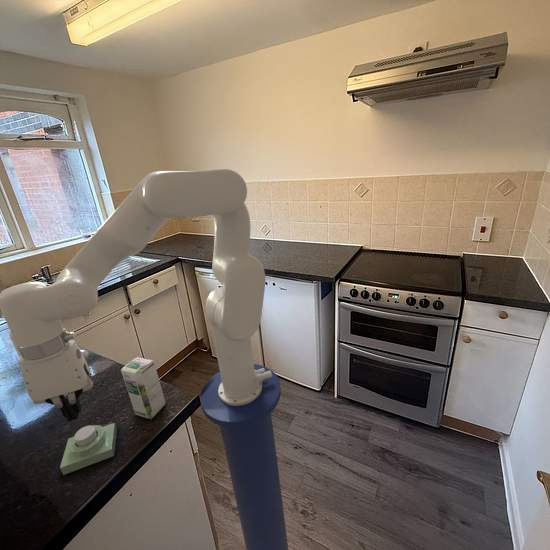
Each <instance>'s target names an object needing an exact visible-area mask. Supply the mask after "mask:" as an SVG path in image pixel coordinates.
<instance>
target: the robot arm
mask: <svg viewBox="0 0 550 550" xmlns="http://www.w3.org/2000/svg"><path fill="white" fill-rule="evenodd" d="M247 196H248V187H247V183H246V181H245V179H244V178H243V176H241V174H239V173H238V172H237V171H235V170H232V169H228V168H219V169H218V168H217V169H216V168H215V169H214V168H213V169H212V168H211V169H205V170H204V169H203V170H180V171H179V170H159V171H157V170H156V171H153V172H150V173H148V174H147V175H145V176H144V177H143V178H142V179H141V180H140V181H139V183H138V184H137V185H136V186H135V187H134V188H133V189H132V190H131V192H130V193H129V194H128V195H127V197H125V198H124V199H123V201H122V202H121V203H120V204H119V205H118V206H117V208H116V209H115V210H114V211H113V212H112V213H111V215H110V216H109V217H108V218H107V219H106V220H105V221H104V222H103V223H102V224H101V226H99V228H98V229H97V230H96V232H95V233H94V234H93V235H92V237H91V238H90V239H89V240H88V241H87V242H86V243H85V244H84V245H83V246H82V247H81V248H80V249H79V250H78V252H77V253H75V255H74V256H73V258H71V259H70V260H69V262H68V263H67V264H66V266H64V268H63V269H62V270H61V271H60V273H58V275H57V277H56V279H55V281H54V283H52V284H50V285H46V284H45V283H44V282H40V281H29V282H22V283H19V284H16V285H12V286H10V287H7V288H5V289H3V290H1V292H0V311H1V313H2V315H3V317H4V320H5V323H6V325H7V326H8V329H9V331H10V332H11V333H12V335H13V337H14V340H15V342H16V344H17V347H18V349H19V351H20V353H21V357H20V358H19V366H20V373H21V377H22V380H23V384H24V387H25V389H26V392H27V394H28V396H29V398H30V400H32V403H33V404H34V405H41V404H49V405H53V406H55V407H56V408H57V409H60V412H61V414H62V416H63V418H66V420H67V422H68V423H70V422H72V421H77V420H78V418H79V414H80V413H81V412H82V405H81V402H80V400H79V398H80V397H81V395H82V393H84V392H87V391H90V390H91V389H93V388H94V383H95V382H94V381H93V379H92V378H91V377H90V376H91V369H90V365H88V362H87V359H86V360H85V358H84V356H83V354H82V352H81V351H80V350H81V349H80V348H79V346H78V344H77V342H75V340H74V339H76V333H75V332H74V331H72V332H68V331H67V329H66V328H64V325H63V323H62V320H70V319H76V318H81V317H84V316H86V315H88V314H90V313H91V312H92V311H93V310H94V309H95V308H96V306H97V304H98V300H99V293H98V291H99V290H98V289H99V287H100V285H101V284H102V282H104V280H105V279H106V278H107V277H108V276H109V274H110V273H111V272H112V271H113V270H114V269H115V268H116V267H117V266H118V265H119V264H120V263H122V262H123V261H124V260H125V259H127V258H130V257H133V256H136V255H137V254H139V253H141V252H142V251H143V250H144V249H145V248H146V247H147V245H148V244H149V243H150V241H152V239H153V238H154V237H155V235H156V234H158V232H159V231H160V230H161V228H162V227H163V226H164V225H165V224H166V223H167V221H168V220H169V219H171V220H173V219H188V218H189V219H190V218H198V217H207V216H212V218H213V222H214V223H213V224H214V240H213V241H214V242H213V252H212V253H213V254H212V262H211V263H212V265H211V270H212V275H213V276H214V278H215V280H217V281H218V282H219V283H220V284H221V285H222V286H220V287H217V288H215V289H213V290H212V291H211V292H210V293H209V295H208V296H207V298H206V302H205V313H206V317H207V320H208V324H209V327H210V330H211V334H212V339H213V344H214V348H215V353H216V358H217V364H218V369H219V372H220V374H221V379H222V383H221V384H220V386H219V389H218V394H219V397H220V399H221V400H222V401H223V402H224V403H226V404H228V405H232V406H240V405H245V404H248V403H250V402H252V401H253V400H255V399H256V398H257V397H258V396H259V395H260V393H261V391H262V380H264V379H268V378H271V377H272V373H271V371H267V372H265V370H264V368H262V369H259V370H255V369H254V364H255V362H254V357H253V356H254V355H253V349H252V342H251V341H252V340H251V338H252V337H253V336H254V335H255V333H256V332H257V330H258V329H259V327H260V324H261V320H262V315H263V314H262V313H263V306H264V299H265V298H264V297H265V291H266V290H265V289H266V272H265V269H264V265H263V264H262V262H261V261H260V260H259V259H258V258H257V257H256V256H254V255H253V254H251V253H250V248H251V247H250V246H251V217H250V213H249V210H248V207H247V205H246V203H245V202H246V200H247ZM262 373H263V374H262ZM66 395H67V396H66Z"/></svg>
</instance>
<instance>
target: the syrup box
mask: <svg viewBox="0 0 550 550" xmlns="http://www.w3.org/2000/svg"><path fill="white" fill-rule="evenodd" d="M120 372H121V375H122V378H123V381H124V384H125V387H126V391H127V393H128V397H129V399H130V402H131V406H132V408H133V411H134V415H136V416H139V417H142V418H145V419H149V420H153V418H154V417H155V416H156V415H158V413H160V411H161V410H162V409H163V407H165V405H166V404H167V403H166V400H165V395H164V393H163V389H162V386H161V381H160V379H159V373H158V372H157V368H156V363H155V361H154V359H149V358H145V357H139V356H137V357H135V358H133V359H132V360H130V361H129V362H128V363H127V364H125V366H123V367H122V368H121V369H120Z"/></svg>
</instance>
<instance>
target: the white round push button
mask: <svg viewBox="0 0 550 550" xmlns="http://www.w3.org/2000/svg"><path fill="white" fill-rule="evenodd" d="M73 437H74V439H75V441H76V443H77V445H78V446H79V447H84V446H86V445H89V444H90V443H92V442H93V441H94V440H95V439H96V437H97V433H96V430H95V428H94V426H93V425H92V424H91V425H86V426H83V427H81V428H80V429H78V430H77V431H76V433H74V435H73Z"/></svg>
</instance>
